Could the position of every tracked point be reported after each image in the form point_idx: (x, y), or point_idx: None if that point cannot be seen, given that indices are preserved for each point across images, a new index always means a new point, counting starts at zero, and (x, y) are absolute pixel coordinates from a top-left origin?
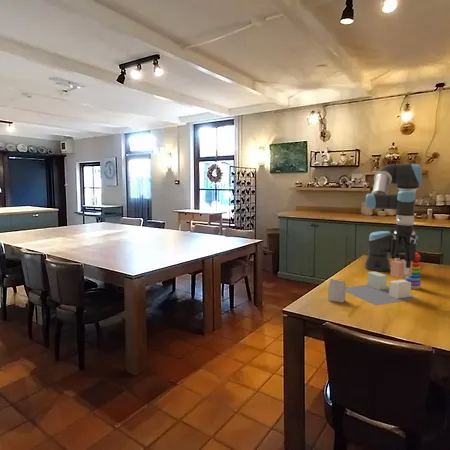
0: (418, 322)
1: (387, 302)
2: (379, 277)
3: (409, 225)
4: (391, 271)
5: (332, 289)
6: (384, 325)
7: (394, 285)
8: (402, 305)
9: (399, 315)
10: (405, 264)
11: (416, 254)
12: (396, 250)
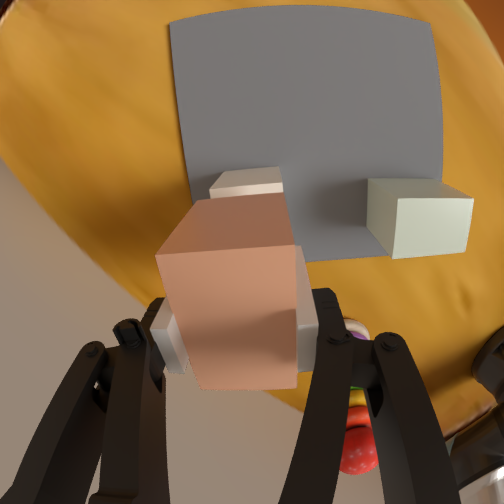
0: (27, 105)
1: (185, 88)
2: (394, 199)
3: None
4: (274, 202)
5: None
6: (42, 4)
7: (241, 181)
8: (149, 140)
9: (72, 70)
10: (163, 307)
11: (345, 466)
12: (307, 421)
